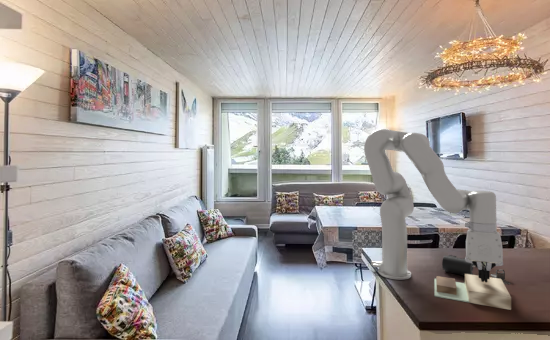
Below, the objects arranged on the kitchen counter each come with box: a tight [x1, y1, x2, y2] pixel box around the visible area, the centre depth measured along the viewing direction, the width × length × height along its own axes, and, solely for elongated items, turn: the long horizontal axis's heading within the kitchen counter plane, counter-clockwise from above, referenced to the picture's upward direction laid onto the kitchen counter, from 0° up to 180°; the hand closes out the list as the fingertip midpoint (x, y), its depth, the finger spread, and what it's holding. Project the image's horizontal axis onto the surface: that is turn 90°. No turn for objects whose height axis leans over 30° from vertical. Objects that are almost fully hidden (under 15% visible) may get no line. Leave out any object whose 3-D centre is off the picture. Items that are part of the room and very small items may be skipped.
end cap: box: [441, 254, 475, 277], centre depth 122 cm, size 10×7×7 cm
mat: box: [433, 278, 469, 303], centre depth 107 cm, size 10×16×1 cm, turn 152°
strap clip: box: [490, 269, 511, 285], centre depth 115 cm, size 8×3×4 cm, turn 172°
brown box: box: [435, 275, 457, 295], centre depth 107 cm, size 6×9×2 cm, turn 152°
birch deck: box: [464, 274, 512, 311], centre depth 102 cm, size 11×16×4 cm
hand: (483, 280), depth 102 cm, fingers closed
